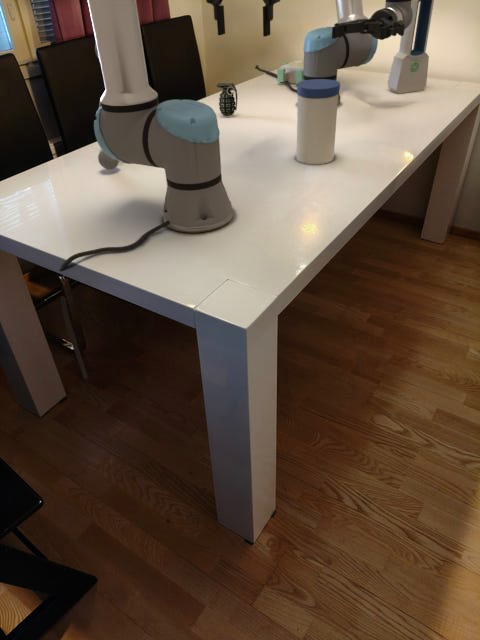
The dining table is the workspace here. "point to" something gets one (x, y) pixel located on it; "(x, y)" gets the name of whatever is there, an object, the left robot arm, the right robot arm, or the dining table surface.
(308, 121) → the jar
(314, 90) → the lid
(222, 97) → the grenade
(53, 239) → the dining table surface
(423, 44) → the electronic device
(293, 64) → the decorative block
